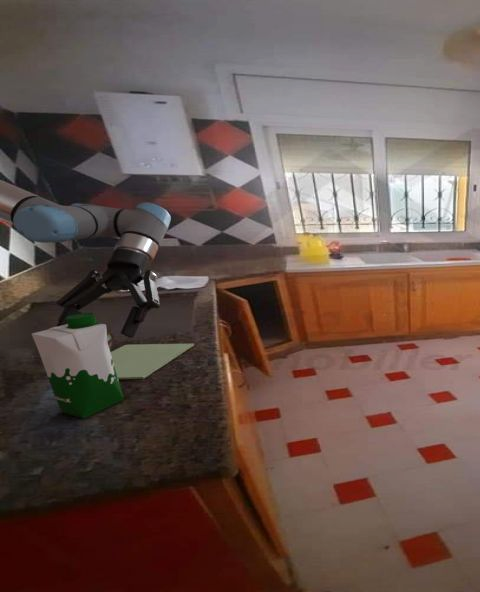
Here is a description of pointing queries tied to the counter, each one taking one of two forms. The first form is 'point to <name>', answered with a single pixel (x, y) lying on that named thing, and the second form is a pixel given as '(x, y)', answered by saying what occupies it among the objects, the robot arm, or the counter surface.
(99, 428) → the counter surface
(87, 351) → the soya milk
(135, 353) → the mat
